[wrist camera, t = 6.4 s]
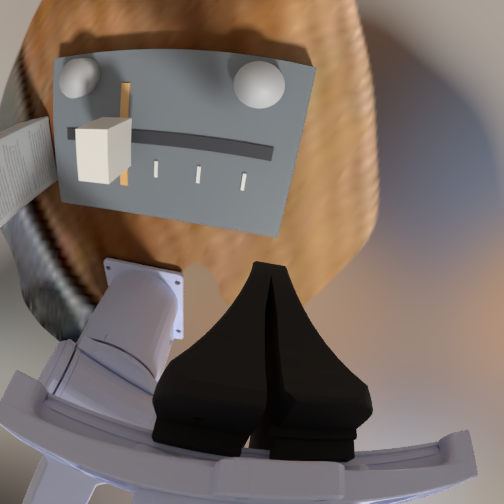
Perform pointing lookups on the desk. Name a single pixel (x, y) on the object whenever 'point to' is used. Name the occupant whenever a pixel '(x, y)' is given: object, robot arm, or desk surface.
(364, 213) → the desk surface
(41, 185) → the skincare box
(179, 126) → the console
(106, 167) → the fader tab
